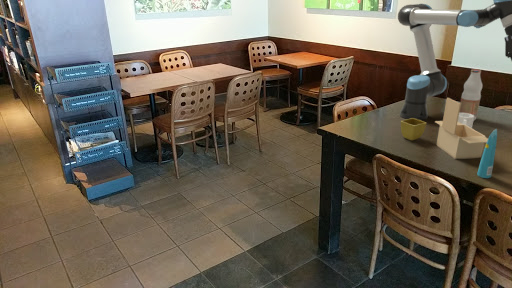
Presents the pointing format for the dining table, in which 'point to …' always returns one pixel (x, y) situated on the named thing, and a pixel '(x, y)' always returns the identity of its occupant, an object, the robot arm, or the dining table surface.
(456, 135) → the carton
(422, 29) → the robot arm
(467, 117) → the mug
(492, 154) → the tube
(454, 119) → the flap
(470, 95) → the fruit juice
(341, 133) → the dining table surface
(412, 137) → the flower pot
